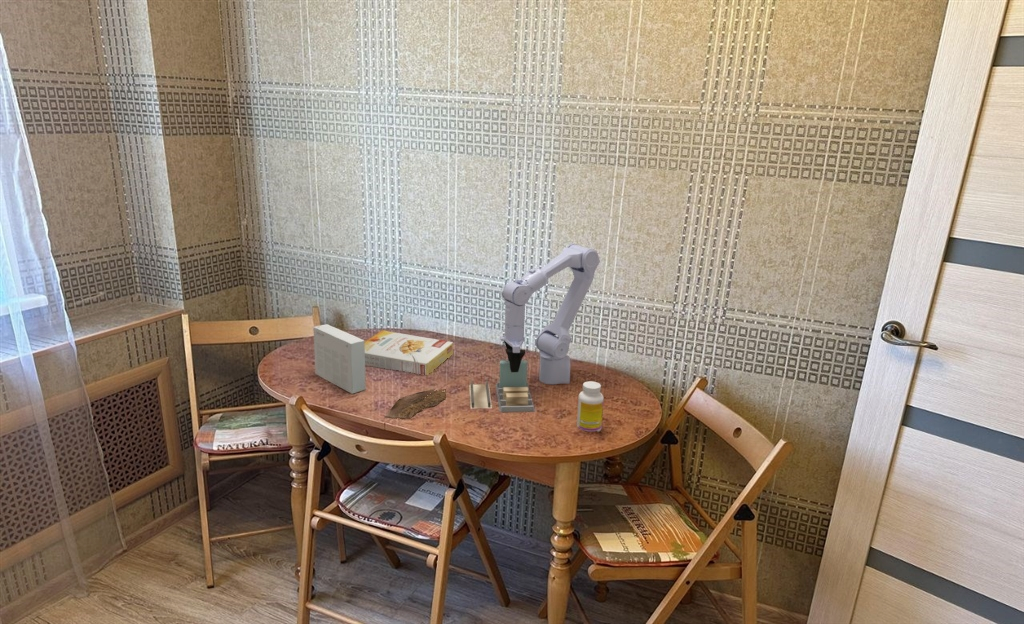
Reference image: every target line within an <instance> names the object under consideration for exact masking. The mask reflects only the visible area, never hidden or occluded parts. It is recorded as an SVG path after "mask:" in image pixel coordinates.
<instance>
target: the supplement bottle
mask: <svg viewBox="0 0 1024 624" xmlns="http://www.w3.org/2000/svg"><path fill="white" fill-rule="evenodd" d="M601 388H602V385H601V383H599V382H596V381H589V380H588V381H585V382H583V384H582V391H580V392H579V394H578V401H577V402H578V403H577V416H576V418H577V419H576V426H577V428H578V429H579V430H582V431H586V432H596V431H597V433H599V432H601V430H602V425H603V413H604V412H603V411H604V399H605V398H604V395H603V394H602V392H601V390H602V389H601Z"/></svg>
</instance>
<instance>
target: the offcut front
mask: <svg viewBox="0 0 1024 624" xmlns="http://www.w3.org/2000/svg"><path fill="white" fill-rule="evenodd" d="M506 406H528V394H527V393H506Z"/></svg>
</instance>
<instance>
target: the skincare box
mask: <svg viewBox="0 0 1024 624" xmlns="http://www.w3.org/2000/svg"><path fill="white" fill-rule="evenodd" d="M312 328H313V348H314V349H313V351H314V352H313V353H314V355H313V356H314V372H315V373H314V374H315V375H316V376H317V377H320V378H322V379H324V380H325V381H328V382H329V383H331V384H333V385H335V386H337V387H339V388H341V389H342V390H344V391H346V392H348V393H350V394H352V395H354V394H356V393H359V392H362V391H365V390H367V388H366V385H367V384H366V365H365V344H364V342H365V340H364V339H362V338H360V337H358V336H355V335H353V334H351V333H348V332H346V331H344V330H341V329H339V328H337V327H334V326H332V325H330V324H328V323H326V324H321V325H316V326H313V327H312Z"/></svg>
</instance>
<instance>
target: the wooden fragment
mask: <svg viewBox="0 0 1024 624" xmlns="http://www.w3.org/2000/svg"><path fill="white" fill-rule="evenodd" d="M435 389H436V388H433V389H429V390H423V391H420V392H416V393H413V394H410V395H409V394H408V395H407V396H402V397H401V398H398V400H396V402H395V403H394V404H393V406H391V408H390V409H389V410H388V412H387V413H386V414H385V415H384V418H386V419H392V420H398V419H397V418H400V419H399V420H406V419H405V418H409V420H410V419H412V418H413V417H414V416H415V415H416V414H417V413H420V412H422V411H423V410H425V409H427V407H428V408H432V407H436V406H437V405H439V404H440V402H441V401H444V400H446V398H447V388H446V389H443V390H439V391H437V390H436V391H434V390H435ZM444 390H445V392H442V391H444ZM430 393H431V394H430ZM427 395H428V396H427ZM425 397H426V398H425ZM424 408H425V409H424Z"/></svg>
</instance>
